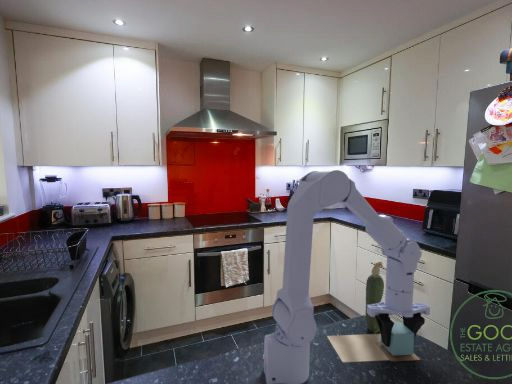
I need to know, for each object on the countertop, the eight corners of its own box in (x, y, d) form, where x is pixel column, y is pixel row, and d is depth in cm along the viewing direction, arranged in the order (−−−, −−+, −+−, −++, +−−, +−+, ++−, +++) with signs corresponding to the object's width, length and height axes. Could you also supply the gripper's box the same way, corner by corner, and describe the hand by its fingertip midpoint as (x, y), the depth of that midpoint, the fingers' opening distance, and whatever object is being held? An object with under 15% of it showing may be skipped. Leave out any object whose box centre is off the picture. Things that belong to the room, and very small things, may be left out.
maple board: (343, 369, 59) (343, 363, 59) (326, 340, 69) (326, 335, 69) (420, 365, 61) (420, 359, 61) (392, 337, 71) (392, 332, 71)
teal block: (392, 355, 61) (393, 334, 61) (380, 342, 66) (381, 322, 66) (413, 354, 62) (414, 333, 61) (399, 341, 67) (400, 321, 66)
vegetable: (360, 330, 74) (363, 259, 73) (371, 327, 76) (374, 257, 75) (374, 339, 70) (377, 264, 69) (385, 335, 72) (388, 261, 71)
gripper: (379, 295, 58) (376, 356, 59) (441, 294, 60) (438, 353, 60) (363, 283, 65) (361, 337, 66) (419, 282, 67) (416, 335, 67)
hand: (396, 343), depth 64 cm, fingers closed on teal block, 5 cm apart
